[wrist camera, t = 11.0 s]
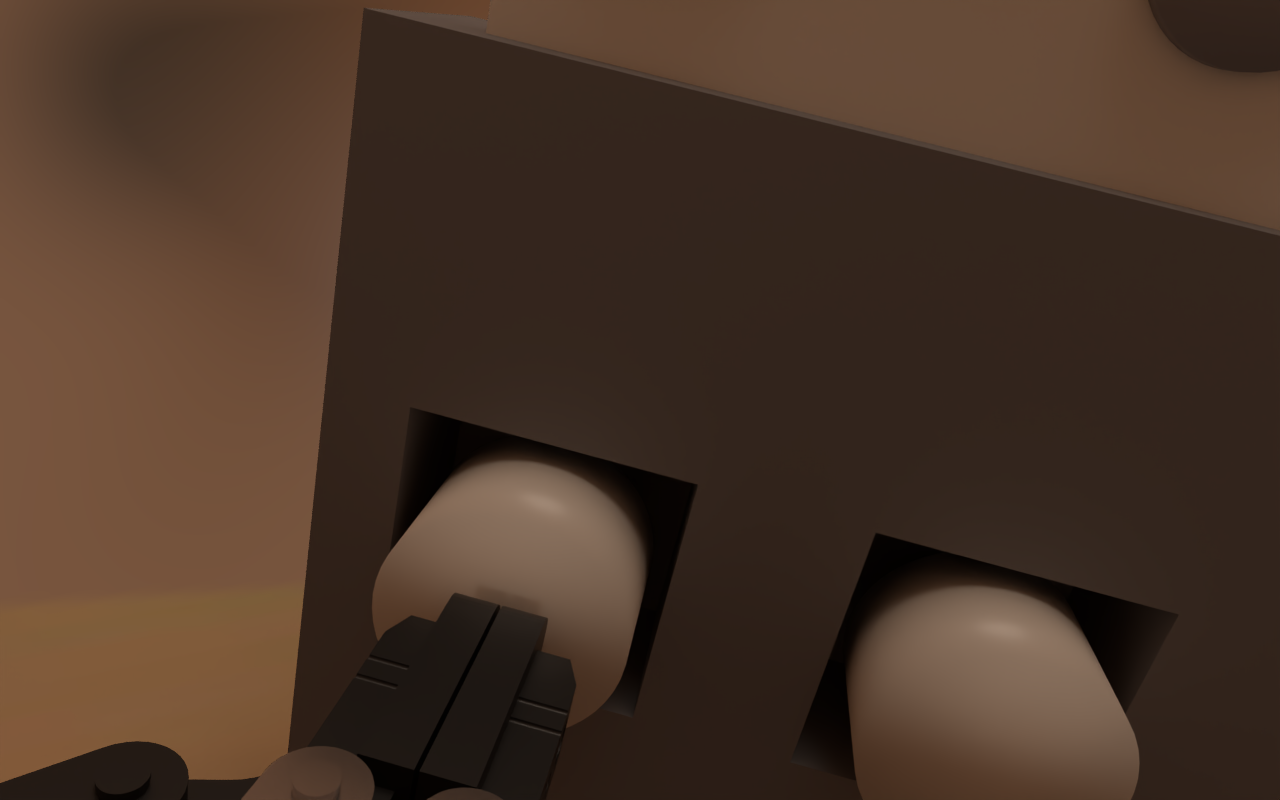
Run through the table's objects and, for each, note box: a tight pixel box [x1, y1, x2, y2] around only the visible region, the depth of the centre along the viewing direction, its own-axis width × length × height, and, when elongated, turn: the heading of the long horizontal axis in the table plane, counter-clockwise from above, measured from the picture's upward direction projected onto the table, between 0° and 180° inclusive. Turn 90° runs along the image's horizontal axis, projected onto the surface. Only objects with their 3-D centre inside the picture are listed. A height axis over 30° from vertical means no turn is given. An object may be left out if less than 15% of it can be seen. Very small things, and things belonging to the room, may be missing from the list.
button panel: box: [288, 8, 1280, 800], centre depth 19 cm, size 24×8×20 cm, turn 81°
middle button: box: [843, 552, 1140, 800], centre depth 16 cm, size 4×3×4 cm
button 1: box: [372, 436, 653, 728], centre depth 16 cm, size 4×3×4 cm
